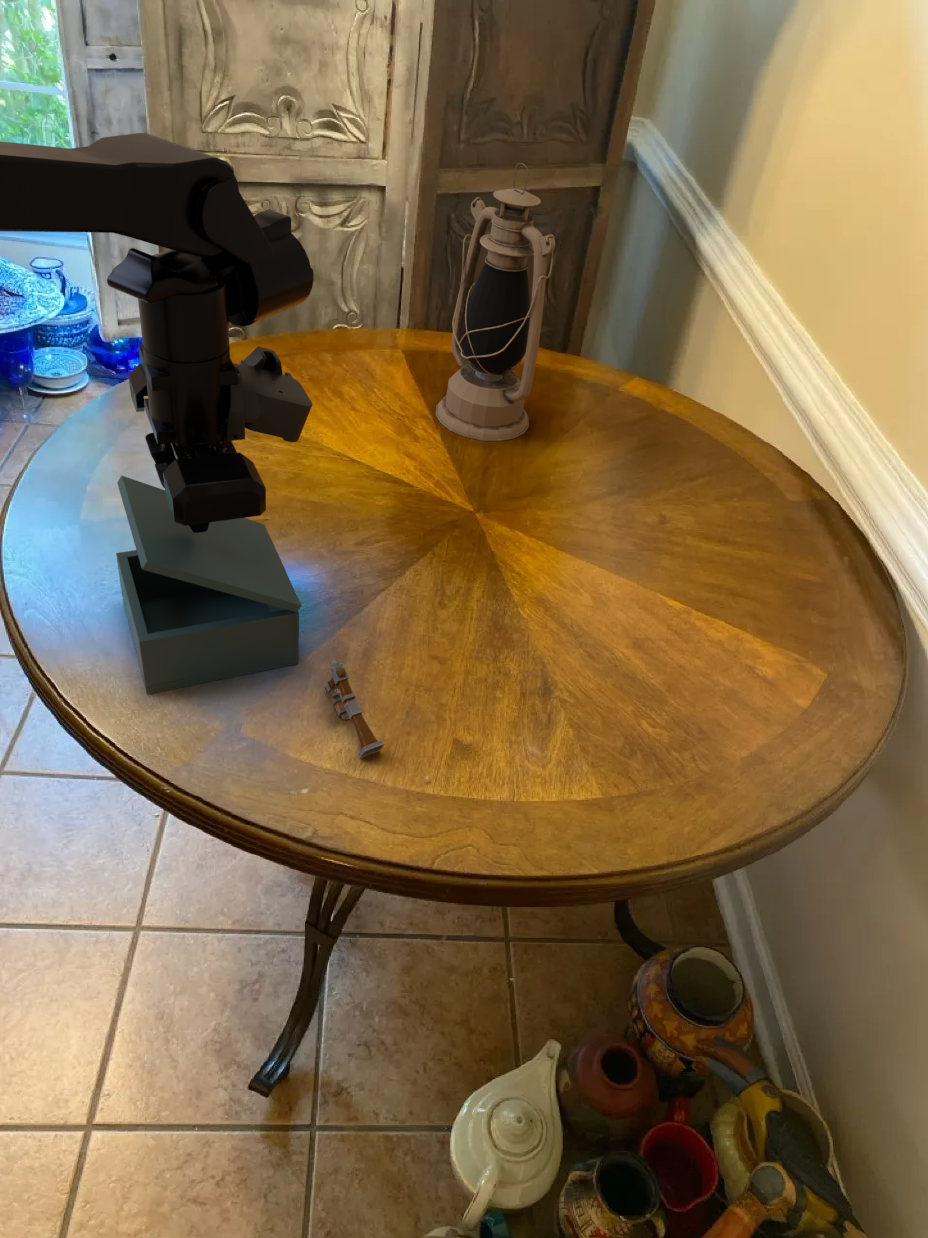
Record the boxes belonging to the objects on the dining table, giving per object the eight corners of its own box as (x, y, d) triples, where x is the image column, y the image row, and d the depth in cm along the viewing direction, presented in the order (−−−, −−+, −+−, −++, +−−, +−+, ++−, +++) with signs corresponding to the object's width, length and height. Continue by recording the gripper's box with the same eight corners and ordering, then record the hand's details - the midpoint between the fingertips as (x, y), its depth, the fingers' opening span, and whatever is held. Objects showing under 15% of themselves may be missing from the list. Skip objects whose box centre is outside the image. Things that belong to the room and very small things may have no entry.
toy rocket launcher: (333, 674, 77) (345, 652, 73) (371, 760, 75) (386, 742, 71) (314, 681, 76) (325, 659, 72) (351, 768, 74) (365, 750, 70)
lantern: (410, 400, 117) (436, 145, 97) (481, 382, 123) (518, 140, 104) (482, 454, 109) (526, 189, 90) (554, 432, 116) (609, 180, 96)
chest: (146, 694, 74) (139, 641, 70) (123, 604, 81) (115, 552, 78) (298, 664, 79) (299, 613, 75) (263, 581, 86) (262, 531, 83)
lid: (141, 569, 66) (146, 561, 66) (116, 482, 74) (121, 474, 73) (297, 612, 75) (302, 605, 74) (260, 531, 82) (264, 524, 82)
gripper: (342, 399, 59) (333, 585, 70) (267, 285, 72) (268, 457, 82) (166, 415, 55) (183, 610, 65) (117, 290, 67) (138, 471, 78)
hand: (199, 529), depth 73 cm, fingers closed
